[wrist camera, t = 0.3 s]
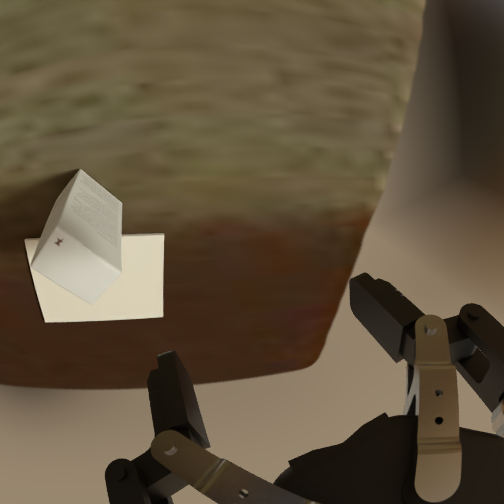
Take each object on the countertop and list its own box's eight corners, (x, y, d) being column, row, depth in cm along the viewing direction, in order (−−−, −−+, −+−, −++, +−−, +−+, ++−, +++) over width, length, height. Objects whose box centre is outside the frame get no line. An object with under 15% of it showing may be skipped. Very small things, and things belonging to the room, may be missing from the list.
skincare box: (56, 198, 28) (26, 266, 18) (80, 167, 27) (55, 223, 18) (99, 232, 31) (91, 307, 22) (124, 203, 31) (124, 272, 21)
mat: (25, 238, 28) (24, 240, 28) (163, 233, 34) (164, 235, 34) (45, 320, 34) (45, 322, 34) (162, 314, 40) (163, 316, 40)
